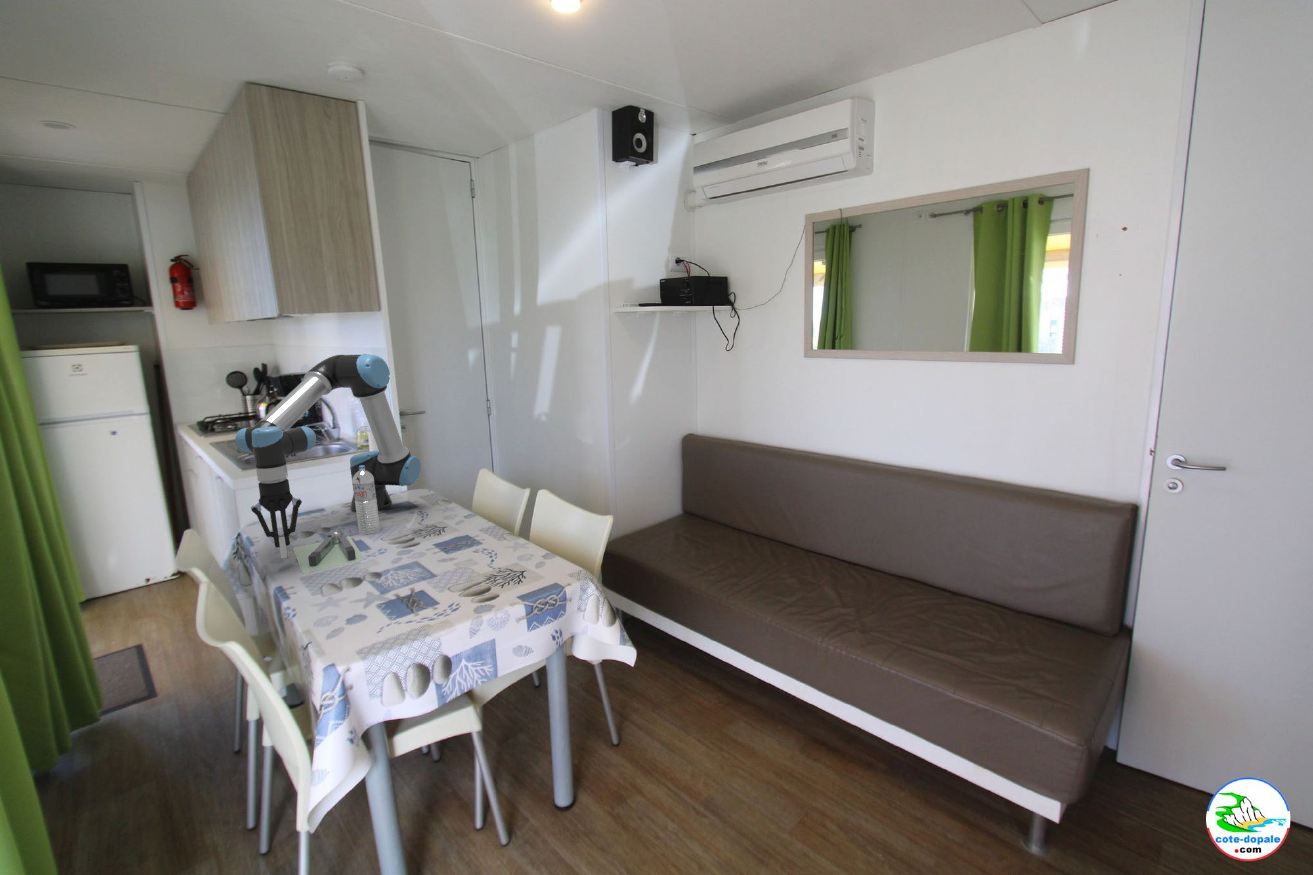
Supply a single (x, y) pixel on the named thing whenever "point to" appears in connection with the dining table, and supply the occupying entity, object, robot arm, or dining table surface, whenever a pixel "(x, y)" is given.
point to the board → (329, 560)
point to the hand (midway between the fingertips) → (284, 556)
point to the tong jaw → (321, 551)
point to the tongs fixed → (343, 544)
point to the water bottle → (366, 502)
